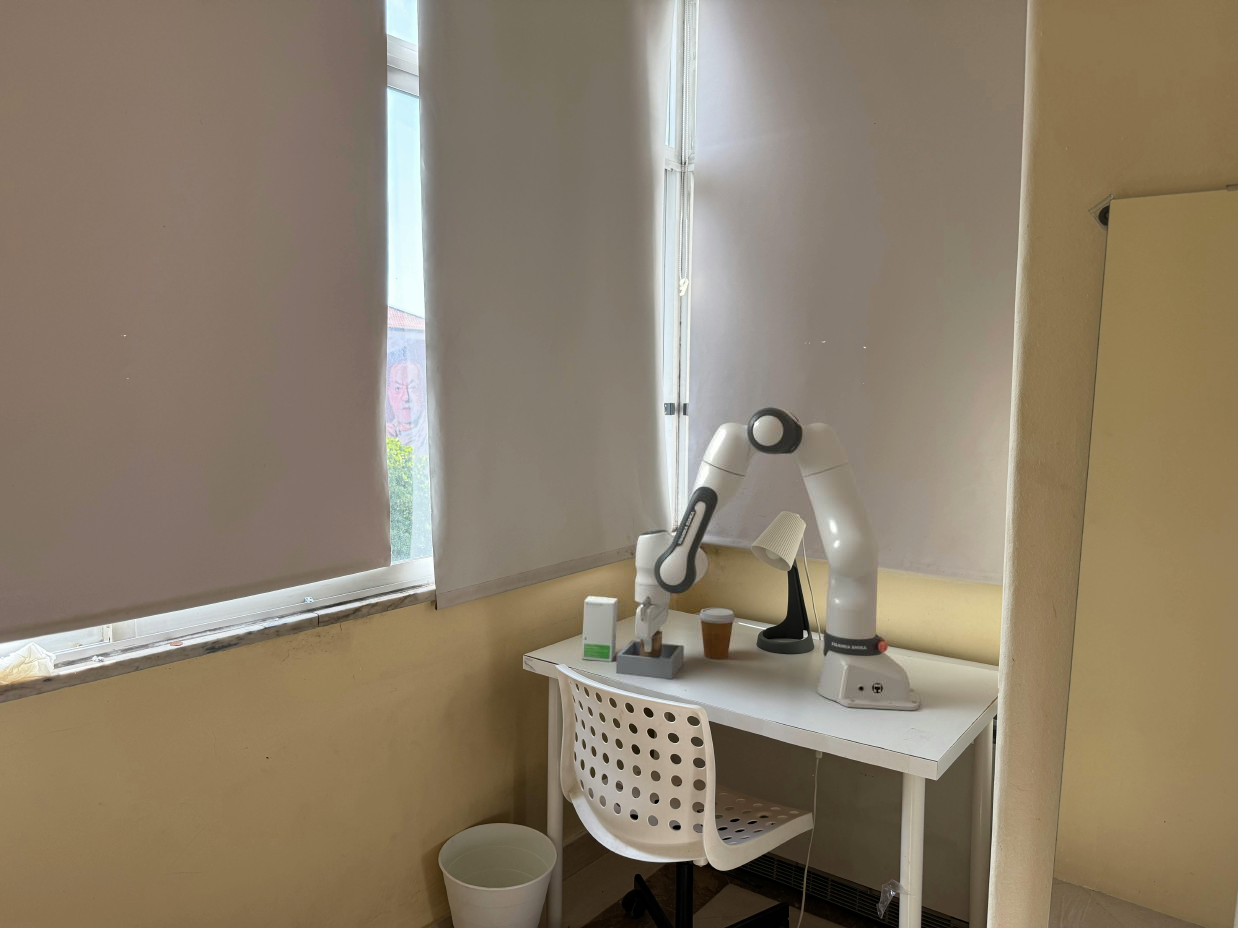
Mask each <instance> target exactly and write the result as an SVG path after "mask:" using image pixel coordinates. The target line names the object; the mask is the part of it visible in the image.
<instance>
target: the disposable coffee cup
mask: <svg viewBox="0 0 1238 928" xmlns="http://www.w3.org/2000/svg"><path fill="white" fill-rule="evenodd" d="M698 616H699V619H700V623H701V625H700V626H701V636H702V646H703V656H704V657H706V658H708V659H712V660H725V659H726V658H728V657H729V652H730V651H729V650H730V645H731V637H732V631H733V624H734V621H735V619H736V616H735V613H734V612H733V610H731V609H727V608H723V607H722V608H721V607H707V608H703V609H701V610H700V614H699V615H698Z"/></svg>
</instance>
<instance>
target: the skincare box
mask: <svg viewBox="0 0 1238 928" xmlns="http://www.w3.org/2000/svg"><path fill="white" fill-rule="evenodd" d="M618 602H619V599H618V598H613V597H605V596H595V595H594V596H593V595H589V596H587V597H586V598H585V599H584V602H583V603H584V604H583V605H584V606H583V622H582V626H583V627H582V643H581V645H582V647H581V660H588V661H589V660H590V661H601V662H608V663H609V662H611V663H612V661H613V660H614V657H616V656H615V655H616V642H617V624H618Z"/></svg>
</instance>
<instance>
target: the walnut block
mask: <svg viewBox="0 0 1238 928" xmlns="http://www.w3.org/2000/svg"><path fill="white" fill-rule="evenodd" d="M639 641H640V656H642V657H651V658H659V657H660V656H661V655H662V643H663V631H661V630H660V631H656V633H655V634H654V635H653V636H652V644H653V649H652V651H651V652H645V650H644V642H643V639H639Z"/></svg>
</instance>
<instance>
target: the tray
mask: <svg viewBox="0 0 1238 928" xmlns="http://www.w3.org/2000/svg"><path fill="white" fill-rule="evenodd" d="M684 653H685V645H682V644H671V643H663V642H662V655H661V656H660V657H659V658H651V657H642V656H640V640H635V639H634V640H633V639H632V640H630V642H628V644H626V645H625V646H624V647H623V648H622V649H621V650H620V651H619V652H618V653H617V654H616V663H615V664H616V667H615V670H616V674H621V675H631V676H641V677H648V678H657V679H665V680H672V679H674V677H675V675H676V674H677V672H678V671H679V670H680V668H681V667H682V665H684V657H685V656H684V655H685V654H684Z"/></svg>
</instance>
